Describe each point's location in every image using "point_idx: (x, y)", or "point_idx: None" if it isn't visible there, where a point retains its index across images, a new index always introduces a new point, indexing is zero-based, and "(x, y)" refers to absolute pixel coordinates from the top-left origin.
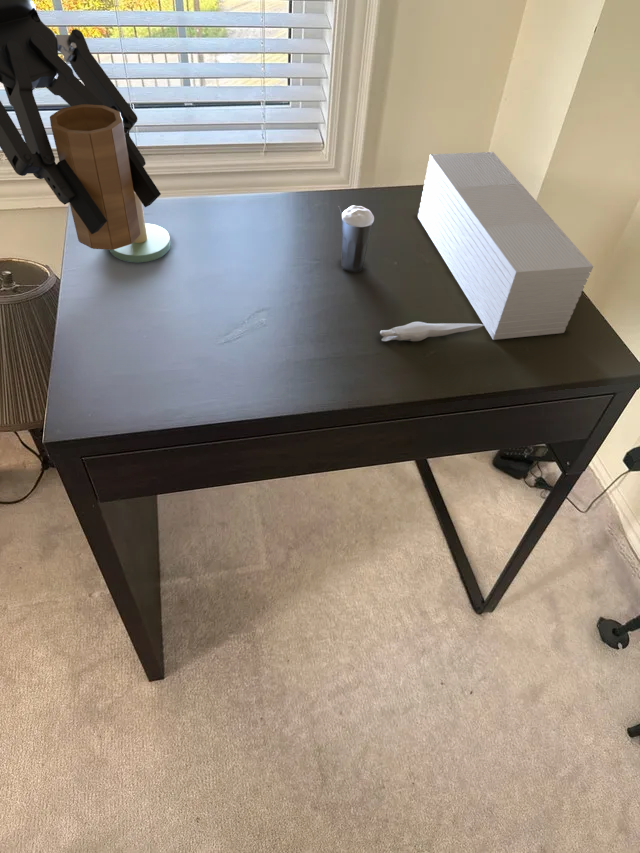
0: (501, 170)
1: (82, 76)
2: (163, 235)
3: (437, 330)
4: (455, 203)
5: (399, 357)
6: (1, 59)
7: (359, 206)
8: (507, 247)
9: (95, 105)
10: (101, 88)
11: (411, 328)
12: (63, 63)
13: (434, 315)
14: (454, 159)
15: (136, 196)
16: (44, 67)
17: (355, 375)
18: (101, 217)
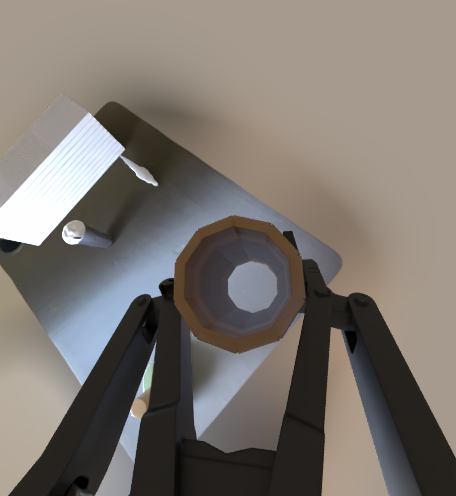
0: None
1: (114, 432)
2: (151, 369)
3: (136, 165)
4: (30, 190)
5: (164, 171)
6: None
7: (63, 233)
8: (67, 129)
9: (184, 313)
10: (124, 365)
11: (144, 173)
12: (145, 445)
13: (123, 180)
14: None
15: (143, 396)
16: (196, 477)
17: (190, 178)
18: (287, 233)
